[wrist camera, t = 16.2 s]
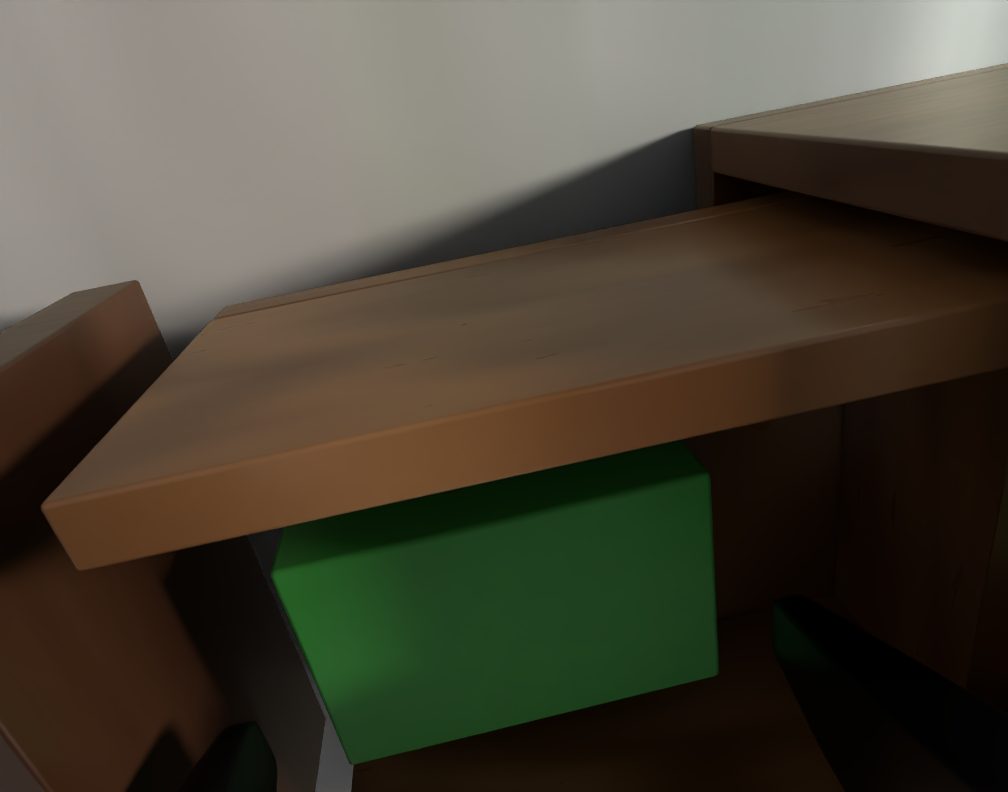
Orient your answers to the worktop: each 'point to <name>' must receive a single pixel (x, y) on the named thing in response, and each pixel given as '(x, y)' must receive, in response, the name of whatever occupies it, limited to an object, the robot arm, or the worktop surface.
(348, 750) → the green rectangular box
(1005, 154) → the cabinet
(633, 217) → the worktop surface
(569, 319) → the drawer
